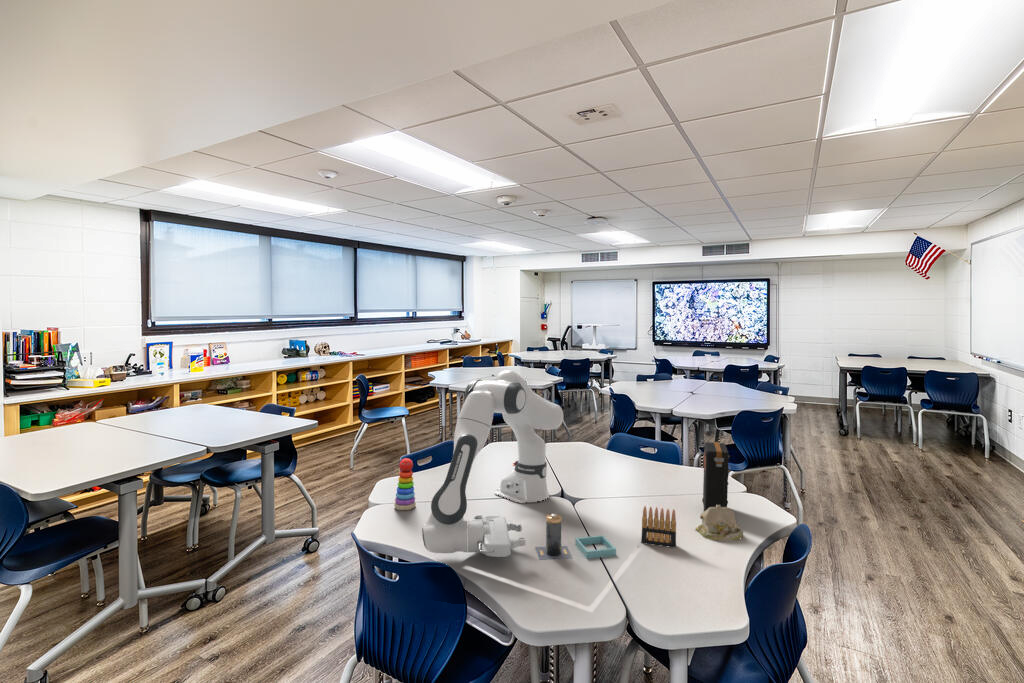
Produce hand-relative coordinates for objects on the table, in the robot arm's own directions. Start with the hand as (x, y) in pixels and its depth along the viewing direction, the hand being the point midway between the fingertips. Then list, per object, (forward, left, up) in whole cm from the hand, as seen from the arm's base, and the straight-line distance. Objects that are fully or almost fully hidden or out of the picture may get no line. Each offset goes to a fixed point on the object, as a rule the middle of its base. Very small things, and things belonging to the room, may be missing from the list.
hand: (523, 534), depth 147 cm
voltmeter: (+43, +68, -7) cm, 81 cm away
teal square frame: (+17, +14, -7) cm, 23 cm away
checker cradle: (+7, +5, -7) cm, 12 cm away
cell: (+7, +5, -6) cm, 11 cm away
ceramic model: (+48, +49, -7) cm, 69 cm away
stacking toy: (-58, +9, -7) cm, 59 cm away
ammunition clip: (+32, +30, -7) cm, 45 cm away
